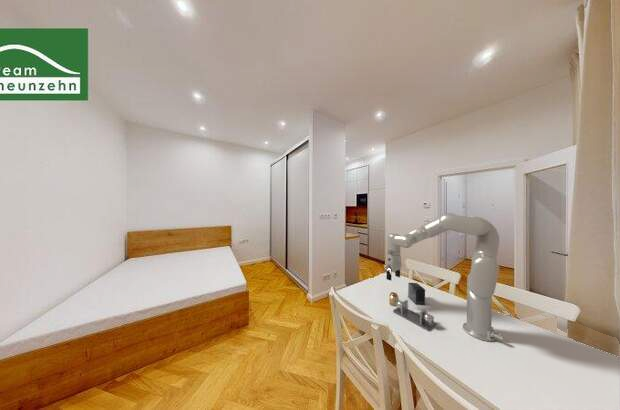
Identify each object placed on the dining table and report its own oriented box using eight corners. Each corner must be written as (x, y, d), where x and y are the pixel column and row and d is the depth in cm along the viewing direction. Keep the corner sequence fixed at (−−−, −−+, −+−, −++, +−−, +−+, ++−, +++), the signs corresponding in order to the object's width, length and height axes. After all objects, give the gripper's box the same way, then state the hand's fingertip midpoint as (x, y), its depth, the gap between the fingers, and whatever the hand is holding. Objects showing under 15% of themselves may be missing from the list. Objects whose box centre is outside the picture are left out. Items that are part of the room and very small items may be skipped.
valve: (399, 304, 123) (399, 294, 123) (395, 307, 120) (395, 296, 120) (392, 301, 127) (392, 291, 127) (387, 303, 124) (387, 293, 124)
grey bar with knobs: (436, 324, 103) (436, 311, 103) (428, 330, 98) (428, 317, 98) (401, 307, 120) (401, 296, 120) (393, 312, 115) (393, 300, 115)
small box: (425, 305, 123) (425, 289, 122) (415, 305, 123) (415, 289, 123) (416, 297, 133) (417, 282, 133) (407, 296, 133) (407, 282, 133)
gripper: (391, 256, 115) (390, 283, 116) (406, 252, 125) (406, 277, 125) (380, 253, 121) (380, 279, 122) (396, 249, 131) (395, 273, 131)
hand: (393, 278), depth 124 cm, fingers open, 9 cm apart
